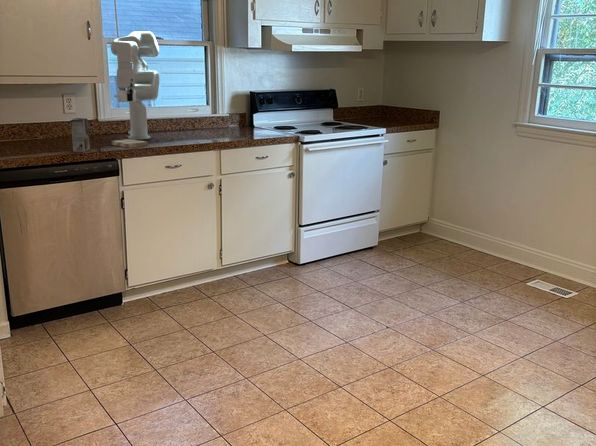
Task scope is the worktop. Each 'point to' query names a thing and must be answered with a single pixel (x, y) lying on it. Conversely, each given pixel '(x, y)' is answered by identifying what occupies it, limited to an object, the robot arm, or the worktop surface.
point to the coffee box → (80, 135)
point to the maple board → (129, 143)
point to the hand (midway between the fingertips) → (127, 100)
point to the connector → (124, 96)
